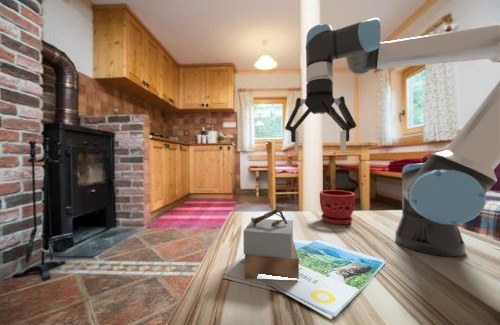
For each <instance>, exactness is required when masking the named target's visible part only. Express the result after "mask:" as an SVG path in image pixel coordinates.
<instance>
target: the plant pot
mask: <svg viewBox="0 0 500 325" xmlns="http://www.w3.org/2000/svg"><path fill="white" fill-rule="evenodd" d="M355 201H356V194H355V192H352V191H347V190H341V189H326V190H325V189H324V190H321V191H320V192H319V203H320V204H319V205H320V209H321V212H322V214H321V218H322V220H323V221H324V222H326V223H329V224H333V225H348V224H350V223H351V222H352V221H353V216H352V215H353V212H354V209H355Z"/></svg>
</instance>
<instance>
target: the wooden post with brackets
mask: <svg viewBox="0 0 500 325" xmlns="http://www.w3.org/2000/svg"><path fill="white" fill-rule="evenodd" d="M284 209H285V206H284V205H283V206H282V205H281V206H280V205H279V206H278V205H277V206H276V208H275V209H273V210H270V211H268V212H266V213H264V214H263V215H260V216H257V217H251V219H250V220H251V221H252V223H253V225H254V227H255V226H256V224H257V223H258V222H260V221H262V220H263V219H270V218H271V217H273V215H276V216H278V217H280V218H281V219H276V220H277V221H274V222H273V223H272V226H274V225H275V226H276V225H278V224H279V223H280V222H282V221H284V223H285V224H287V221H286V220H287V219H286V217H285V216H284V214H283V211H284ZM278 213H279V214H278ZM278 220H280V221H278Z"/></svg>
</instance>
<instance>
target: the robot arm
mask: <svg viewBox="0 0 500 325" xmlns="http://www.w3.org/2000/svg"><path fill="white" fill-rule="evenodd" d="M305 43H306V44H305V60H306V61H305V62H306V63H305V64H306V66H305V67H306V68H305V69H306V71H305V72H306V74H305V75H306V76H305V78H306V84H305V86H306V87H305V91H306V92H305V93H306V96H305V98H301V97H297V98H296V100H295V103H294V104H295V105H294V108H293V111H292V113H291V115H290V116H289V119H288V121H287V123H286V125H285V126H284V129H285V131H288V132H290V141H291V142H290V143H294V154H299V130H297V129H298V127H299V126H300V125H301V124H302V123H303V122H304V120H306V118H307V117H308V116H309V115H310V114H313V115H318V114H321V115H323V114H327V115H328V116H330V117H331V119H332V120H333V121H334V122H335V123H336V124H337V125H338V126H339V128H341V130H340V132H339V133H340V134H339V138H340V139H339V140H340V141H339V144H340V146H339V147H340V149H339V151H340V152H339V153H340V154H345V153H347V142H349V141H350V130H353V129H355V128H356V127H357V124H356V122H355V120H354V118H353V116H352V114H351V112H350V110H349V108H348V106H347V105H346V100H345V97H344V96H343V95H342V96H340V97H334V94H333V93H334V88H333V87H334V86H333V84H334V83H333V78H334V77H333V76H334V73H333V72H334V71H333V70H334V69H333V62H334V60H338V59H342V58H345V60H346V64H347V67H348V69H349V70H350V72H351V73H353V75H357V76H362V75H365V74H367V73H368V72H370V71H371V70H382V69H393V68H403V67H404V68H406V67H415V66H426V65H436V64H437V65H439V64H446V63H457V62H468V61H479V60H480V61H481V60H490V61H491V62H492V63H500V23H499V24H495V25H488V26H482V27H476V28H470V29H469V28H468V29H461V30H455V31H448V32H442V33H435V34H429V35H422V36H416V37H410V38H403V39H397V40H391V41H390V40H389V41H384V42H383V41H382V42H381V20H380V19H379V18H378V17H374V18H370V19H366V20H362V21H359V22H356V23H353V24H350V25H347V26H344V27H342V28H341V27H340V28H337V29H333V27H332V26H331V25H330V24H328V23H327V24H326V23H324V24H321V23H320V24H316V25H314V26H313V27H311V28H310V29H309V30H308V31H307V34H306V41H305ZM333 104H335V105H336V106H337V107H338V110H339V111H340V113H341V115H342V116H341V115H340V114H339V113H338V112H337V111H336V109H335V108H334V107H333ZM303 105H305V106H306V108H307V109H306V110H305V111H304V113H302V116H301V117H299V119H298V120H297V122H296V123H295V124H294V125H293V126H291V125H292V123H293V121H294V119H295V118H296V116H297V114H298V112H299V109H300V108H301V107H302V106H303ZM499 164H500V80H499V81H498V82H497V83H496V85H495V86H494V87H493V89H492V90H491V91H490V92H489V94H488V95H487V96H486V98H485V99H484V100H483V101H482V103H481V104H480V105H479V106H478V108H476V110H475V111H474V113H473V114H472V115H471V117H470V118H469V119H468V120H467V122H466V123H465V124H464V125H463V127H462V128H461V129H460V131H459V132H458V133H457V134H456V136H455V137H454V138H453V140H452V141H451V142H450V143H449V145H448V146H447V147H446V148H445V150H442V151H437V152H433V153H431V155H430V156H429V157H428V158H427V160H426V161H425V162H424V163H423V162H422V163H421V162H420V163H409V164H406V165H404V166H403V167H402V170H401V174H400V175H401V182H402V183H401V184H402V185H401V186H402V187H401V188H402V189H401V190H402V192H401V194H402V196H401V197H402V199H401V203H402V205H401V206H402V209H401V210H402V216H401V218H400V221H399V223H398V226H397V229H396V230H395V241H396V243H398V244H399V245H400V246H403V247H405V248H406V249H407V248H408V249H409V250H413V251H417V252H420V253H425V254H428V255H433V256H438V257H439V256H440V257H462V256H464V255H465V254H466V244H465V241H464V239H463V236H462V234H461V232H460V230H459V227H458V225H459V224H464V223H468V222H469V221H472V220H474V219H475V218H477V217H478V216H479V215H480V214H481V213H482V212H483V210H484V209H485V206H486V201H487V195H486V194H487V193H488V192H489V190H491V188H492V187H493V186H495V185H496V183H497V181H498V178H497V176H496V174H495V169H496V168H497V167H498V166H499Z"/></svg>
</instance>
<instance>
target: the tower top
mask: <svg viewBox="0 0 500 325" xmlns="http://www.w3.org/2000/svg"><path fill="white" fill-rule="evenodd" d="M277 220H278V221H280V220H281V219H271V218H267V219H263V220H262V221H260V222H258V223H257V224H256V226H255V227H254V225H253V223H252V220H251V221H250V222H249V223H248V224H247V225H246V227H245V229H243V255H245V254H247V255H257V256H267V257H278V258H288V259H291V258H292V245H293V242H294V237H293V236H294V232H293V231H294V227H293V226H294V223H293V222H294V221H293V220H289V219H286V221H287V224H285V223H284V221H282V222H280V223H279V224H278V225H276V226H275V225H274V226H272V223H273V222H274V221H277Z"/></svg>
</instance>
